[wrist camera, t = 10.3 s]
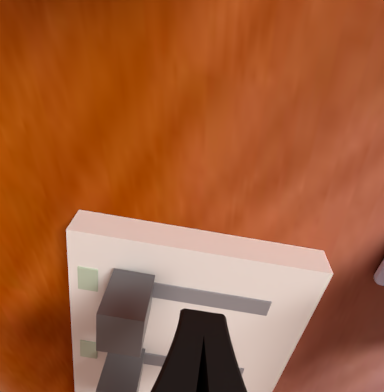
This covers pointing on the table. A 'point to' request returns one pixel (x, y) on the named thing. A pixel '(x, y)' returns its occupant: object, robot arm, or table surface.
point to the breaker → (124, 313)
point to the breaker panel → (193, 291)
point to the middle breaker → (121, 373)
